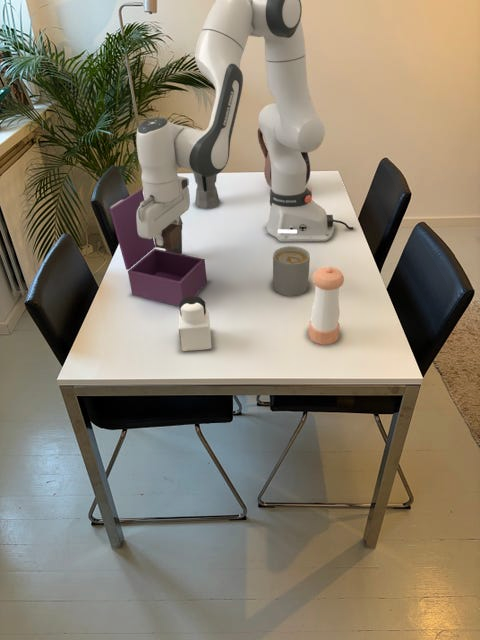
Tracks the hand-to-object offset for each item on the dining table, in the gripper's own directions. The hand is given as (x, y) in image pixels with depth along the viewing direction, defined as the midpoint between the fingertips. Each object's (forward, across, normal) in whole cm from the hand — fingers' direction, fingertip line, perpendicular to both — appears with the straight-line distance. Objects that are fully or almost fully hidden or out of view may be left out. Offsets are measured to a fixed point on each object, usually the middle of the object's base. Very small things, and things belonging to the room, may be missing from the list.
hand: (167, 239), depth 132 cm
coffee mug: (+16, +16, -29) cm, 37 cm away
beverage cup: (+16, +16, +9) cm, 25 cm away
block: (+2, 0, 0) cm, 2 cm away
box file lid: (-1, 0, +10) cm, 10 cm away
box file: (+16, 0, +1) cm, 16 cm away
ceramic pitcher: (+16, +78, -3) cm, 80 cm away
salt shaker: (+16, -4, -45) cm, 48 cm away
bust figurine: (+16, -18, -17) cm, 30 cm away
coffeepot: (+16, +55, +18) cm, 60 cm away
